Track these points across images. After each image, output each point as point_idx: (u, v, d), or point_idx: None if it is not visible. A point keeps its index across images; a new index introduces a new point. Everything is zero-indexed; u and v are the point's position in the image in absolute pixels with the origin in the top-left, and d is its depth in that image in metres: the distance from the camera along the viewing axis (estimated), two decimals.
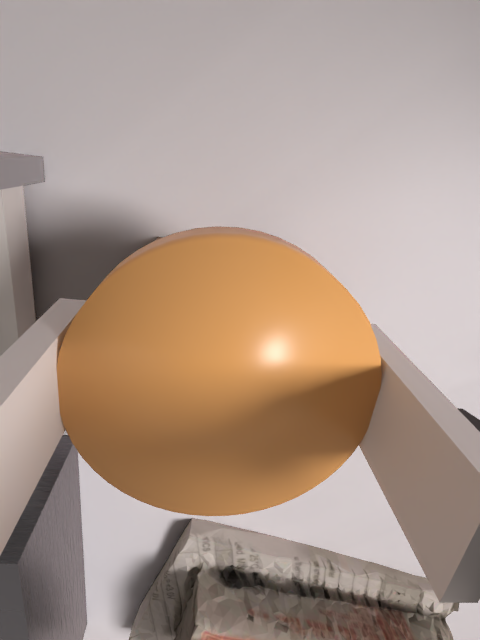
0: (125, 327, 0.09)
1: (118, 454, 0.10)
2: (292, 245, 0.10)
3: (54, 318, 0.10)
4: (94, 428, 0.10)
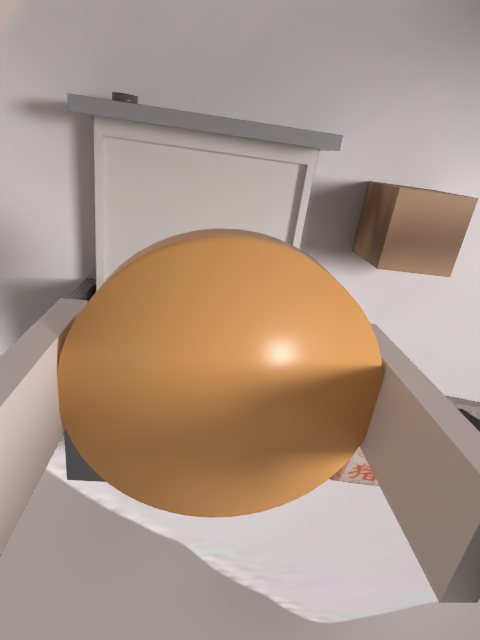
0: (126, 328, 0.09)
1: (120, 456, 0.10)
2: (293, 247, 0.10)
3: (54, 318, 0.10)
4: (95, 430, 0.10)
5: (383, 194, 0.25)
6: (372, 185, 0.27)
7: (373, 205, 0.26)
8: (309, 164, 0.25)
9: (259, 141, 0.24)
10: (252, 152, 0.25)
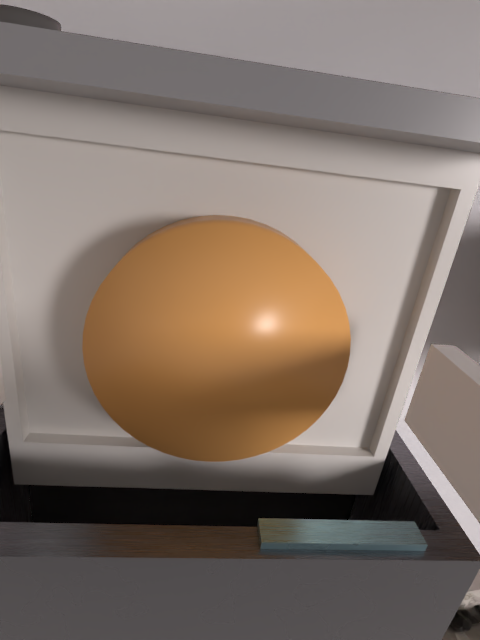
0: (140, 295, 0.11)
1: (133, 405, 0.12)
2: (276, 230, 0.12)
3: None
4: (113, 381, 0.12)
5: None
6: None
7: None
8: (464, 188, 0.11)
9: (359, 138, 0.10)
10: (341, 164, 0.11)
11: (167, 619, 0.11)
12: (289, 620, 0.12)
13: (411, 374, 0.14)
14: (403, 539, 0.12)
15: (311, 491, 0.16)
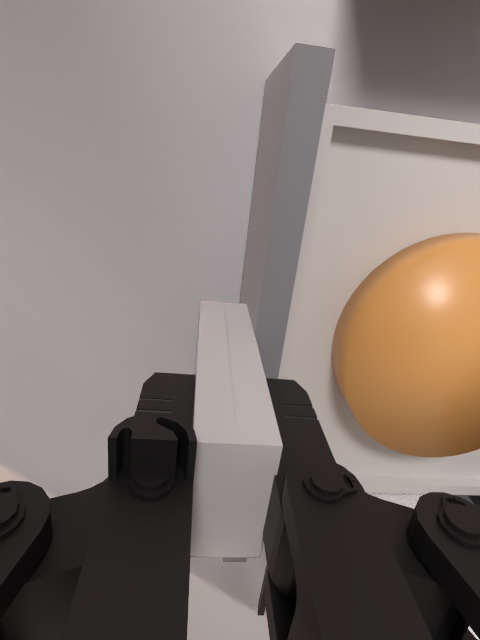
0: (392, 419, 0.13)
1: None
2: (352, 301, 0.13)
3: (211, 318, 0.11)
4: (461, 440, 0.14)
5: None
6: None
7: None
8: (333, 120, 0.11)
9: None
10: (301, 255, 0.12)
11: None
12: None
13: None
14: None
15: None
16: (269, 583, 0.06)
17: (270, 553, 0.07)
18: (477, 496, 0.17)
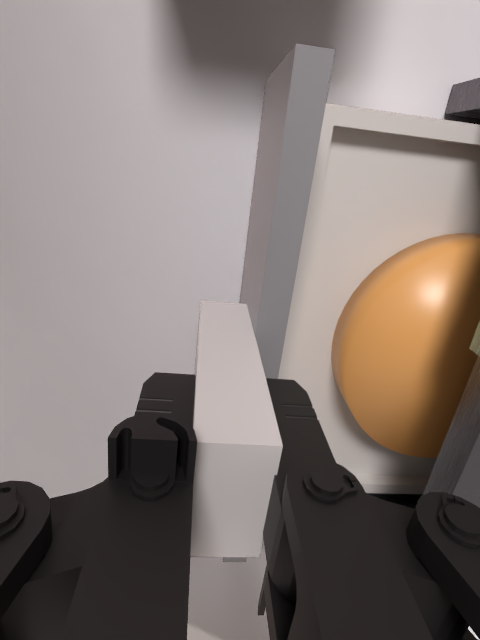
0: (392, 419, 0.14)
1: None
2: (352, 301, 0.13)
3: (211, 317, 0.11)
4: None
5: None
6: None
7: None
8: (333, 121, 0.11)
9: None
10: (301, 256, 0.12)
11: None
12: None
13: None
14: None
15: None
16: (269, 583, 0.06)
17: (270, 553, 0.07)
18: None
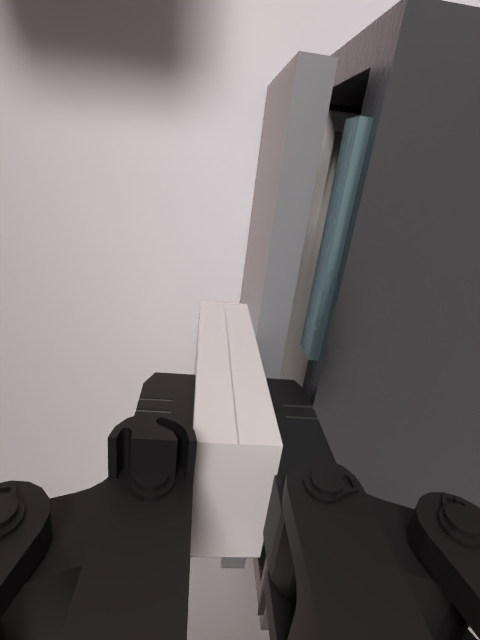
0: None
1: None
2: None
3: (211, 317, 0.11)
4: None
5: None
6: None
7: None
8: (335, 127, 0.11)
9: None
10: (302, 262, 0.12)
11: (404, 457, 0.10)
12: (457, 325, 0.08)
13: None
14: (349, 156, 0.07)
15: None
16: (269, 583, 0.06)
17: (270, 553, 0.07)
18: None
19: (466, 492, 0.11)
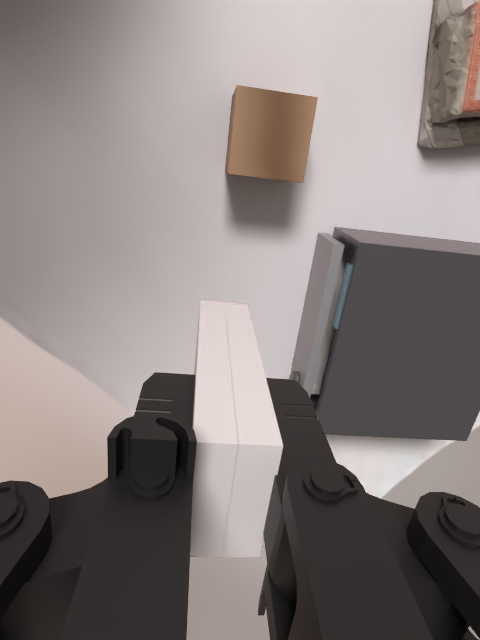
0: None
1: None
2: None
3: (211, 317, 0.11)
4: None
5: None
6: None
7: None
8: (342, 251, 0.31)
9: None
10: None
11: (365, 361, 0.30)
12: (379, 318, 0.29)
13: None
14: (347, 273, 0.28)
15: None
16: (270, 583, 0.06)
17: (270, 553, 0.07)
18: None
19: (387, 375, 0.31)
